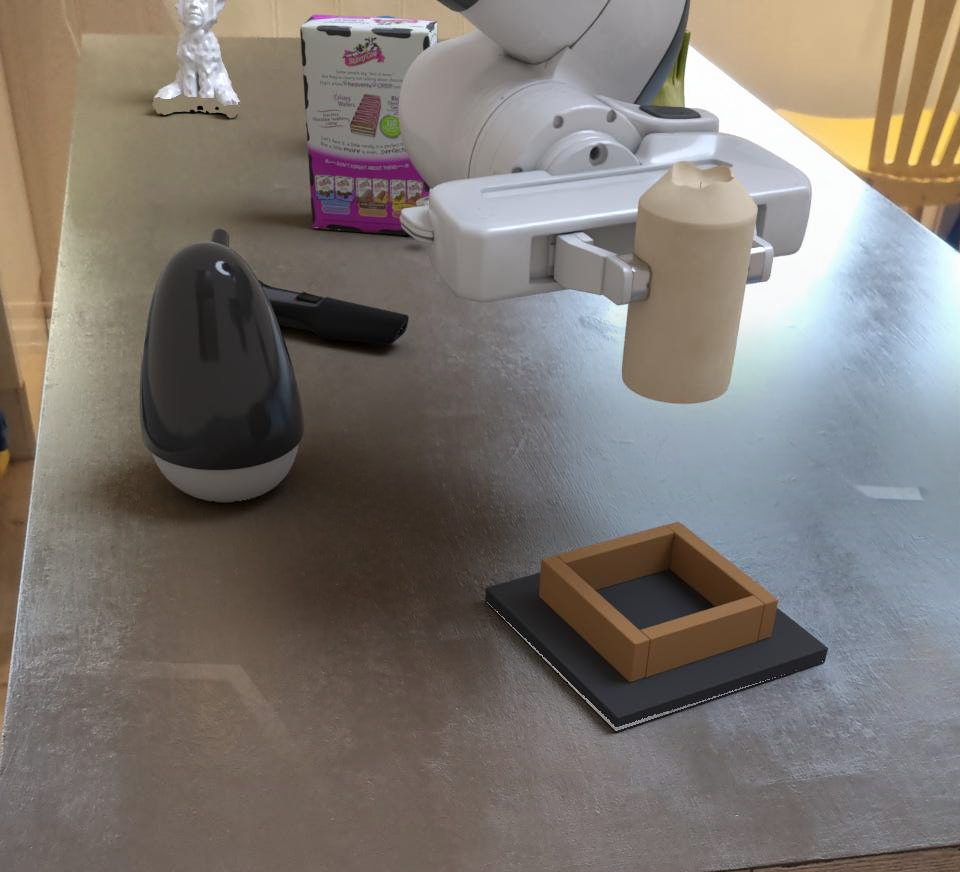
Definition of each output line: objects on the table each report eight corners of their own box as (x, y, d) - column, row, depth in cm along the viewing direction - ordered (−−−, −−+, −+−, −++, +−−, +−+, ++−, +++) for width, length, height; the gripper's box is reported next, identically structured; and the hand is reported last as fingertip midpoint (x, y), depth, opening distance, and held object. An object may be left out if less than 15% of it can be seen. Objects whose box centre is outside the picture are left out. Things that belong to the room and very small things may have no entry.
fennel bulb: (643, 171, 140) (657, 37, 132) (622, 156, 143) (634, 25, 135) (693, 165, 141) (710, 33, 133) (671, 151, 145) (686, 21, 136)
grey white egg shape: (317, 449, 93) (303, 216, 83) (296, 525, 86) (278, 279, 75) (168, 443, 94) (135, 209, 83) (134, 519, 86) (94, 272, 76)
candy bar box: (439, 220, 127) (440, 18, 116) (430, 238, 124) (431, 32, 113) (322, 211, 128) (311, 10, 117) (309, 229, 125) (298, 23, 114)
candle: (598, 375, 69) (617, 164, 63) (676, 349, 72) (703, 144, 65) (673, 415, 66) (701, 198, 60) (752, 387, 69) (788, 176, 62)
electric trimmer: (395, 364, 104) (395, 322, 102) (220, 323, 109) (216, 283, 106) (416, 346, 107) (417, 305, 105) (245, 307, 111) (242, 267, 109)
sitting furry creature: (151, 116, 149) (135, -12, 141) (167, 94, 155) (153, -29, 147) (238, 120, 149) (227, -8, 141) (251, 98, 155) (241, -26, 147)
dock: (680, 546, 85) (687, 495, 83) (825, 662, 76) (838, 609, 74) (484, 601, 80) (486, 549, 78) (615, 733, 71) (622, 678, 69)
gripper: (385, 143, 68) (505, 235, 59) (731, 104, 75) (886, 182, 66) (387, 272, 73) (500, 376, 64) (714, 225, 79) (858, 313, 70)
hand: (700, 277), depth 65 cm, fingers closed on candle, 5 cm apart
